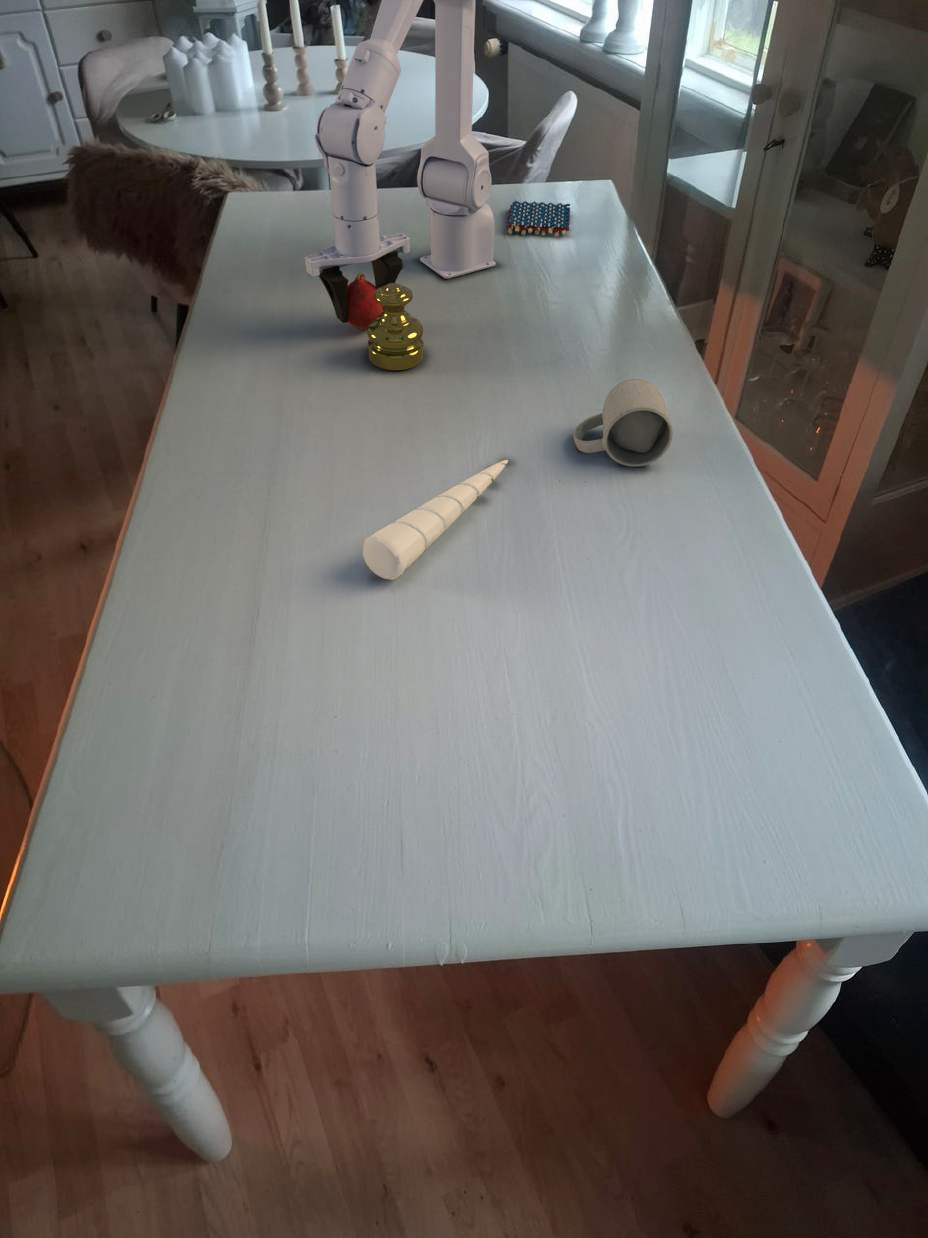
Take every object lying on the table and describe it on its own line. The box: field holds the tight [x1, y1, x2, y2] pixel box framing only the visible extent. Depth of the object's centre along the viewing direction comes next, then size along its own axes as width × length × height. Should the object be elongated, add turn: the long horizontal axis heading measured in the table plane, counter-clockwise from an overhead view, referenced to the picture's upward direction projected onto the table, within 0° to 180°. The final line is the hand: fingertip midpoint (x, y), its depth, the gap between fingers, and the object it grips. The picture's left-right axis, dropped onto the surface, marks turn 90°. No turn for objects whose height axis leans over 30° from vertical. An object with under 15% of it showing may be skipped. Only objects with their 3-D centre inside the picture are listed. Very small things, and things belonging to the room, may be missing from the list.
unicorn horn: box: [362, 459, 509, 581], centre depth 91 cm, size 5×24×5 cm, turn 142°
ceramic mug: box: [573, 378, 674, 468], centre depth 100 cm, size 11×8×8 cm
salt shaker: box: [366, 282, 424, 372], centre depth 112 cm, size 7×7×10 cm
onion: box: [347, 272, 383, 331], centre depth 118 cm, size 6×6×8 cm
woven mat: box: [506, 200, 571, 238], centre depth 147 cm, size 10×11×2 cm
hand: (362, 313), depth 119 cm, fingers closed on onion, 6 cm apart
